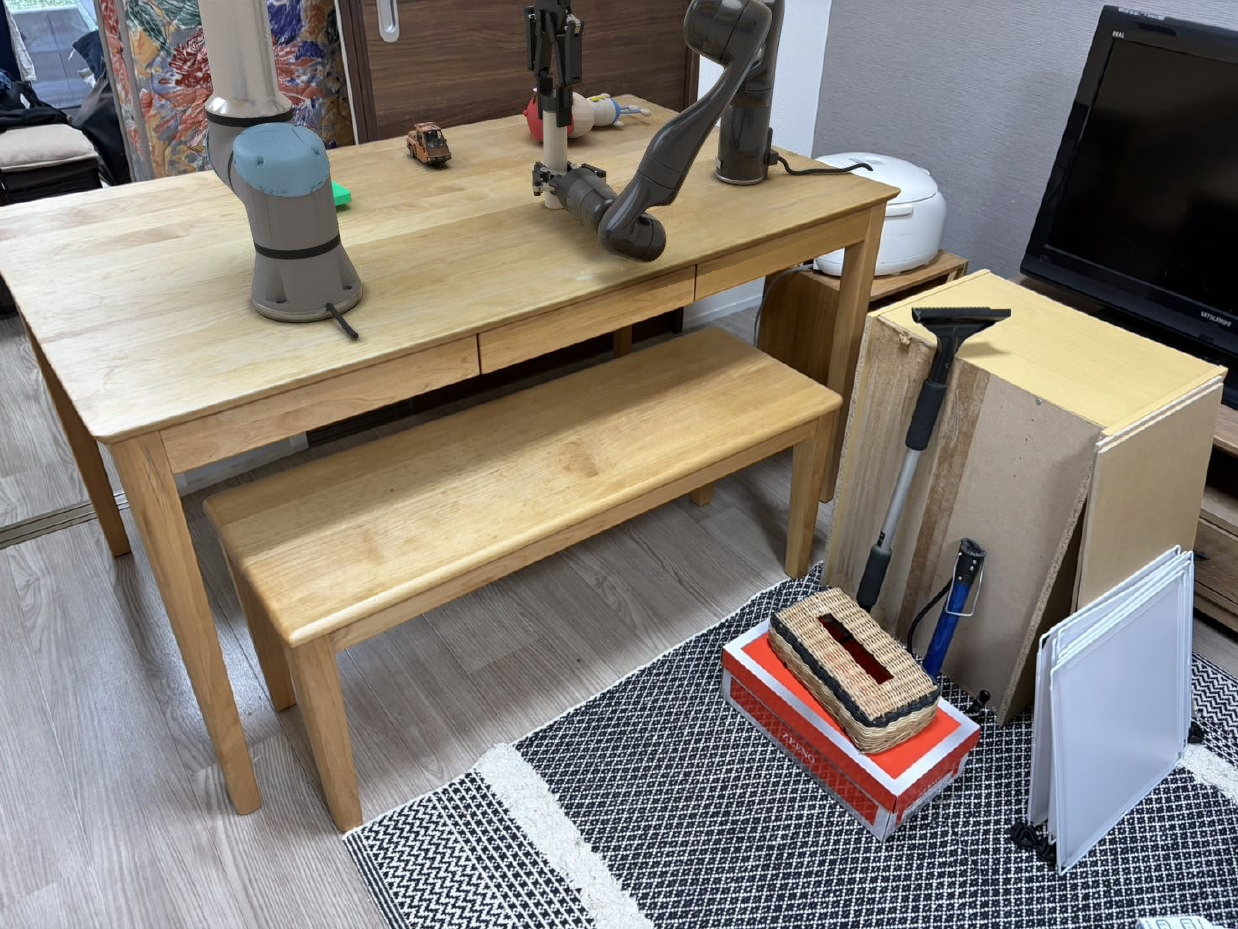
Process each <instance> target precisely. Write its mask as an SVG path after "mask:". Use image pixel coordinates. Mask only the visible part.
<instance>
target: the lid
mask: <svg viewBox="0 0 1238 929" xmlns="http://www.w3.org/2000/svg"><path fill="white" fill-rule="evenodd" d="M541 108H542V109H543V110H546V111H556V90H545V91H542V92H541Z"/></svg>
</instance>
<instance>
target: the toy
mask: <svg viewBox="0 0 1238 929" xmlns="http://www.w3.org/2000/svg"><path fill="white" fill-rule="evenodd" d="M553 90H556V87H555V88H554V87H553ZM532 91H533V94H532V98H531V100H529V103H528V105H527V108H526V109H524V110H523V112H522V115H523V116H524V117H525V118H526V123H527V126H528V129H529V131H530V133H531V136H532V137H533V139H534V140H535V141H537V142H541V143H543V120H539V119H538V97H537V87H534V88H533V89H532ZM621 114H622V115H626V114H627V115H630V114H640V115H642V116H643V117H647V118H648V117H651V116H652V111H651V110H650V109H648V108H639V106H637V105H634V104H629V105H628V106H623V107H620V105H619V103H617V102H616V100H614V99H612V98H611V95H610V94H609V93H605V92H604V93H601V94H599V95H598V94H597V95H593V96H590V97H587V98H586V95H583V94H580V93H578V92H575V91H573V105H572V125H570V126H567V138H570V139H573V138H579V137H583V136H585V135H586V134H587V133H589V132H590V131H591V130H592V128H593V126H596V127H597V126H598V127H605V126H609V125H612V124H613V126H615V127H618V128H621V127H623V126H624V122H623V121H619V118H620V115H621Z"/></svg>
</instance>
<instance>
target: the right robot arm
mask: <svg viewBox="0 0 1238 929" xmlns="http://www.w3.org/2000/svg"><path fill="white" fill-rule="evenodd" d="M785 10H786V0H691V2H690V4H689V5H688V8H687V10H686V13H685V15H684V16H685V17H684V20H683V25H682V36H683V41H684V43H685V45H686V46H687V47H688V48H689V49H690V50H692V51H693V52H695V53H696V54H698V55H700V56H702V57H704V58H705V59H707V60H709V61H711V62H713V63H714V64H717V65H719V66H721V67H722V68H723V71H722V72H721V75H720V76H719V77H718V79H717V80H716V82H715V83H714V85H713V86H712V87H711V88H710V89H709V90H708V91H707V92H706V93H705V94H704V95H703V96H702V97H700V98H699V99H698V100H697V101H695V102H694V103H693V104H691V105H690V106H688V107H687V108H685V109H684V110H682V111H681V112H679V113H678V114H676V115H675V116H673V117H672V118H671V119H669V120H668V121H666V122H665V123H664V124H663V125H662V126H661V127H660V128H659V129H658V130H657V131H656V132H655V134H654V135H653V136H652V138H651V140H650V141H649V143H648V145H647V147H646V150H645V151H644V154H643V156H642V158H641V160H640V162H639V164H638V167H637V169H636V171H635V173H634V176H633V177H632V178H631V180H630V181H629V182H628V183H627V185H626V186H625V187H624V188H623V190H622V191H621V193H620V194H618V193H617V192H616V191H614V190H613V188H612V187H611V185H610V184H608V182H607V171H606V170H604V169H601V168H599V167H596V166H594V165H591V164H589V163H585V162H584V163H581V164H580V165H578V164H577V163H575V162H572V161H570V160H568V159H567V173H566V172H561V171H559V170H556V169H548V168H547V167H546V166H545V165H544V163H543V162H541V161H535V164H533V170H531V176H532V179H531V180H532V181H531V183H532V191H533V196H534V197H540V196H542V194H544V193H545V191H549V192H550V193H551V194H552V195H555V196H557V198H558V199H559V201H560V203H561V205H562V206H563V207H564V208H563V209H565V210H566V211H567V212H568V213H570V215H572V216H573V217H574V218H575V219H576V220H577V221H578V222H579V223H580V224H582V225H584V226H586V227H587V228H588V229H589V230H591V231H592V232H593V233H594V234H595V235H596V236H597V242H598V244H599V246H600V248H601V249H602V251H603V252H605V253H607V254H609V255H613V256H615V257H620V258H623V259H626V260H629V261H633V262H637V263H640V264H649V263H652V262H654V261H657V260H658V259H659V258H660V257H661V256H662V255H663V253H664V252H665V249H666V247H667V232H666V229H665V227H664V225H663V224H662V222H661V221H660V220H659V219H658V218H656V217H655V216H654V215H652V214H650V213H649V212H646V211H647V210H648V209H650V208H653V207H658V208H659V207H660V208H662V207H670V206H672V204H674V202H675V200H676V199H677V197H678V195H679V194H680V191H681V189H682V187H683V185H684V183H685V181H686V179H687V177H688V175H689V173H690V170H691V169H692V166H693V164H694V163H695V161H696V159H697V157H698V155H699V153H700V151H701V150H702V147H703V146H704V144H705V142H706V141H707V139H708V138H709V136H710V135H711V133H712V131H713V130H714V128H715V126H717V124H718V122H719V132H718V143H717V154H716V156H715V157H714V165H715V172H714V176H715V178H717V180H719V181H722V182H724V183H727V184H732V185H739V186H740V185H743V186H745V185H746V186H747V185H753V184H758V183H760V182H762V181H763V180H766V179H768V175H769V168H770V167H771V166H777V165H778V162H780V163H781V164H782V165H783V167H784V170H785V171H786V173H787V174H789V175H791V176H803V175H809V174H843V173H848V172H852V171H855V170H857V169H860V168H861V169H862V168H863V169H866V170H867V171H868V172H874V168H873V167H872V166H871V165H870V164H868V163H866V162H859V163H855V164H853V165H850V166H847V167H841V168H808V169H803V170H794V169H791V168H790V166H789V162H788V161H787V160H786V159H785V158H784V157H783V156H781V155H780V153H779V152H778V151H776V150H774V149H773V148H772V145H773V144H772V143H773V135H774V129H773V127H771V126H770V123H771V115H772V106H773V99H774V98H773V97H774V88H775V82H776V81H775V80H776V71H777V63H778V62H777V61H778V54H779V48H780V42H781V36H782V32H783V31H782V30H783V25H784V19H785Z"/></svg>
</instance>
